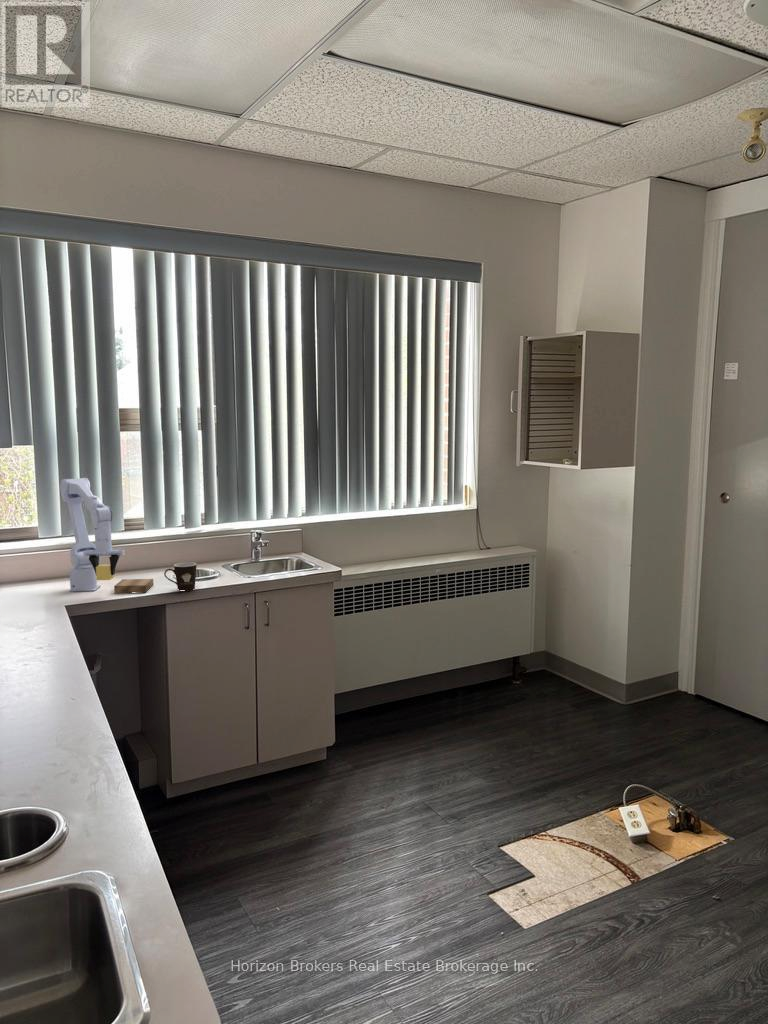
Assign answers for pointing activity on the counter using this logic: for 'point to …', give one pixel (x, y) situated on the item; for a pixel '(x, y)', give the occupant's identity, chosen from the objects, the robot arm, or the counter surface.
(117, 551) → the robot arm
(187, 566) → the coffee mug
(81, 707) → the counter surface
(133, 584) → the walnut base
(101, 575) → the mustard cube
